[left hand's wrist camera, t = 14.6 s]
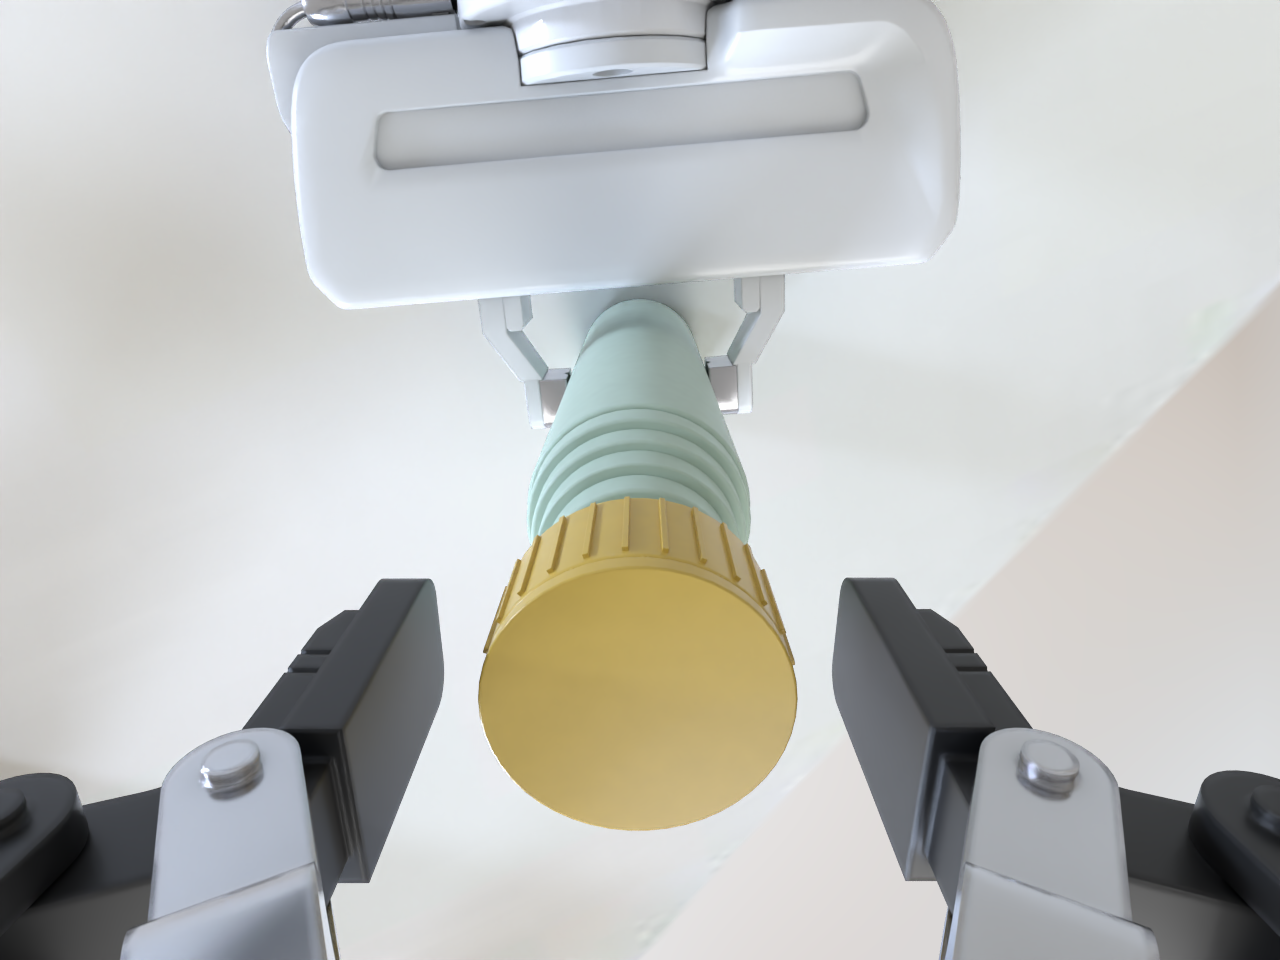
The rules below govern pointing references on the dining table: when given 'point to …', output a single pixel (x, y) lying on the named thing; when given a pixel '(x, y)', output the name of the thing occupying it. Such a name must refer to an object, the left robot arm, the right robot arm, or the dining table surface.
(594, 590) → the cap
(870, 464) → the dining table surface
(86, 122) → the dining table surface
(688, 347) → the bottle
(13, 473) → the dining table surface
